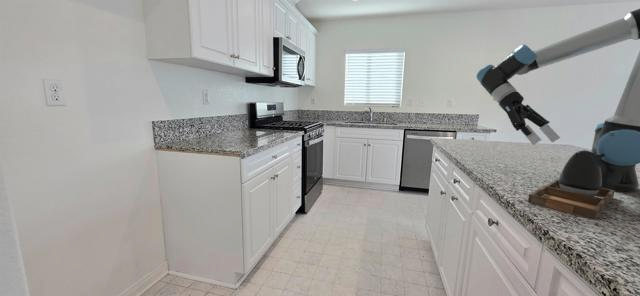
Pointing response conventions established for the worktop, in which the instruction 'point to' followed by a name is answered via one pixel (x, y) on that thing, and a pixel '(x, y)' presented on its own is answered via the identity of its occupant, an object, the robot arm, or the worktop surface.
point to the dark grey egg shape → (582, 173)
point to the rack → (571, 200)
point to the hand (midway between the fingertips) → (547, 141)
